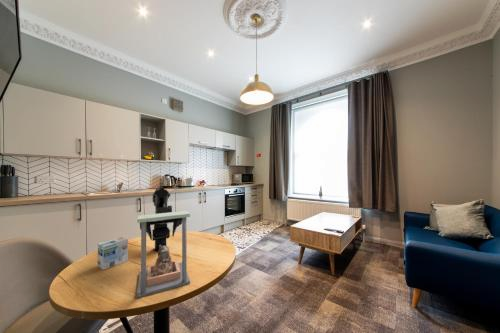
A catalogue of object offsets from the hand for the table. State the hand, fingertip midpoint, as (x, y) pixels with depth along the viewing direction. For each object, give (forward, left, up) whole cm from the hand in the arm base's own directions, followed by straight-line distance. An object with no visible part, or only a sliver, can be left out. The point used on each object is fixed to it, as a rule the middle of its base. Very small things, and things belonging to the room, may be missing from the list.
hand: (162, 237), depth 87 cm
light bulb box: (-24, -10, -14) cm, 30 cm away
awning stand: (+8, -5, -13) cm, 17 cm away
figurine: (+8, -5, -13) cm, 16 cm away
